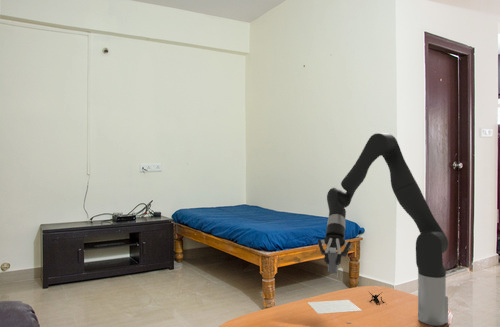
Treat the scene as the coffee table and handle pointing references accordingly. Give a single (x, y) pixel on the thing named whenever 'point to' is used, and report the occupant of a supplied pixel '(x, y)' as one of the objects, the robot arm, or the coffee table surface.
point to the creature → (376, 298)
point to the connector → (332, 261)
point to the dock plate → (333, 306)
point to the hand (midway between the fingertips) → (332, 263)
